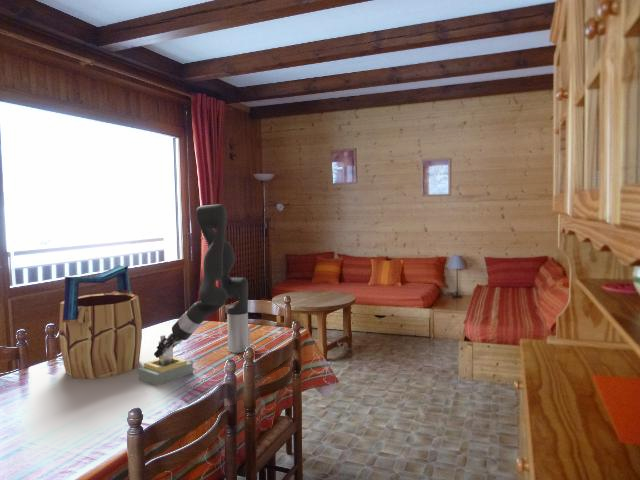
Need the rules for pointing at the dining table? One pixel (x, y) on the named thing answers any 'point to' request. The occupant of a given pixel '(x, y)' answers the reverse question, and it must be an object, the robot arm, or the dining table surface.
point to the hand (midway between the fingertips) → (161, 353)
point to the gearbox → (164, 371)
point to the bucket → (100, 328)
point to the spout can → (166, 355)
